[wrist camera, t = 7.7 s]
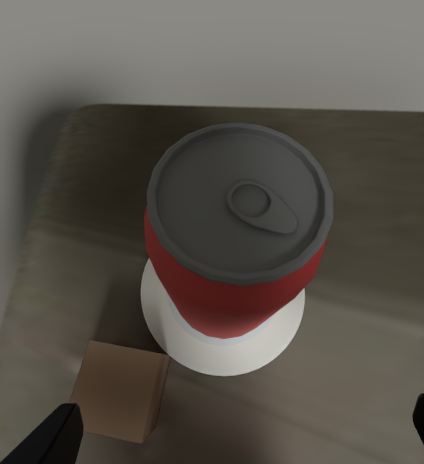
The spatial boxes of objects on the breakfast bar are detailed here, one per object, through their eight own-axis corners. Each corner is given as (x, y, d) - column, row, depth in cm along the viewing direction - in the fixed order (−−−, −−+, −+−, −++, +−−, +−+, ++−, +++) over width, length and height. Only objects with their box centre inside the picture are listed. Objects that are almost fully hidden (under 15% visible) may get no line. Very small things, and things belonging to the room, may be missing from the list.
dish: (257, 412, 18) (261, 415, 17) (112, 319, 20) (106, 316, 19) (322, 262, 22) (329, 256, 21) (195, 198, 24) (194, 189, 23)
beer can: (235, 363, 18) (278, 361, 7) (153, 298, 19) (79, 211, 8) (290, 277, 20) (389, 172, 9) (212, 225, 21) (215, 81, 11)
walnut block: (155, 427, 18) (141, 443, 14) (91, 413, 18) (61, 426, 14) (171, 355, 19) (161, 353, 16) (112, 344, 19) (89, 340, 16)
